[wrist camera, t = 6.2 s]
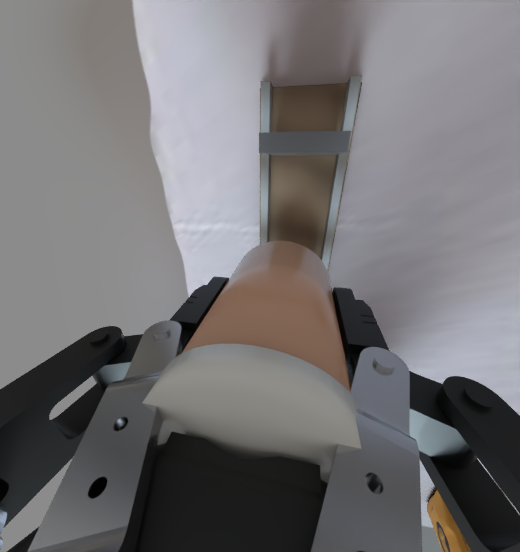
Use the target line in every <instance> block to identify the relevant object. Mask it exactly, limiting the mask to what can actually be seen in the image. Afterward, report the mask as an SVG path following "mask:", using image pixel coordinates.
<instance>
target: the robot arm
mask: <svg viewBox="0 0 520 552" xmlns="http://www.w3.org/2000/svg"><path fill="white" fill-rule="evenodd" d="M228 280H229V278H224V277H213V278H212V280H211V281H210V282H209V283H208V285H203V286H201V287H199V288H198V289H196V290H195V291H194V292H193V293H192V294H191V296H190V297H189V298H188V299H187V301H186V303H184V304H183V305H182V306H181V308H180V309H179V310H178V311H177V312H176V313H175V315H174V316H173V317H172V318H171V319H170V320H168V321H162V322H159V323H156V324H154V325H152V326H151V327H149V328H148V329H147V330H146V331H145V332H144V334H142V335H133V336H124V335H123V333H122V331H121V329H120V328H118V327H115V326H108V327H103V328H100V329H97V330H95V331H93V332H91V333H89V334H87V335H86V336H84V337H83V338H81V339H79V340H78V341H76V342H75V343H73V344H72V345H70V346H68V347H67V348H65V349H64V350H62V351H60V352H59V353H57V354H56V355H54V356H53V357H51V358H50V359H48V360H46V361H45V362H43V363H41V364H40V365H38V366H37V367H35V368H34V369H32V370H30V371H29V372H27V373H26V374H24V375H23V376H21V377H19V378H18V379H16V380H15V381H13V382H11V383H10V384H9V385H7V386H5V387H4V388H2V389H0V534H1V532H2V530H3V528H4V527H5V526H6V525H7V524H8V523H9V522H10V521H11V520H12V519H13V518H14V517H15V516H16V515H17V514H18V513H19V512H20V511H21V510H22V509H23V508H24V507H25V506H26V505H27V504H28V502H29V501H30V500H31V499H32V498H33V497H34V496H35V495H36V494H37V493H38V492H39V491H40V490H41V489H42V488H43V487H44V486H45V485H46V484H47V483H48V482H49V481H50V480H51V479H52V478H53V477H54V476H55V475H56V474H57V473H58V472H59V471H60V470H61V469H62V468H63V467H64V465H66V464H67V463H68V461H70V459H71V458H72V457H73V456H74V457H73V459H72V461H71V463H70V465H69V467H68V469H67V471H66V473H65V475H64V477H63V479H62V482H61V484H60V485H59V488H58V490H57V492H56V494H55V496H54V498H53V500H52V502H51V504H50V506H49V508H48V511H47V512H46V515H45V517H44V518H43V521H42V523H41V525H40V526H39V527H38V528H37V529H36V530H34V531H33V532H32V533H31V534H29V535H28V536H27V537H25V538H24V539H23V540H22V541H20V542H19V543H18V544H16V545H15V546H14V547H12V548H11V549H10V550H9V551H7V552H422V526H421V493H420V461H419V458H420V460H421V462H422V464H423V465H424V467H425V469H426V471H427V473H428V474H429V476H430V478H431V480H432V482H433V483H434V485H435V487H436V489H437V490H438V492H439V494H440V496H441V498H442V499H443V501H444V503H445V505H446V507H447V508H448V510H449V512H450V514H451V515H452V517H453V519H454V521H455V523H456V524H457V526H458V528H459V530H460V532H461V533H462V535H463V537H464V539H465V541H466V542H467V544H468V546H469V548H470V549H471V551H472V552H520V515H519V514H518V513H517V511H516V510H515V509H514V507H513V506H512V505H511V503H510V502H509V501H508V500H507V498H506V497H505V496H504V494H503V493H502V492H501V490H500V489H499V488H498V486H497V485H496V484H495V482H494V481H493V480H492V478H491V477H490V476H489V474H488V473H487V472H486V470H485V469H484V468H483V466H482V465H481V464H480V462H479V461H478V460H477V458H478V459H479V460H480V461H481V463H482V464H483V465H484V466H485V468H486V469H487V470H488V472H489V473H490V474H491V476H492V477H493V478H494V480H495V481H496V482H497V484H498V485H499V486H500V488H501V489H502V490H503V492H504V493H505V494H506V496H507V497H508V498H509V499H510V501H511V502H512V503H513V505H514V506H515V507H516V509H517V510H518V512H519V513H520V416H519V415H518V414H517V413H516V412H515V411H514V410H513V409H512V408H511V407H510V406H509V405H508V404H507V403H506V402H505V401H504V400H503V399H501V398H500V397H499V396H498V395H497V394H496V393H494V392H493V391H492V390H490V389H489V388H487V387H486V386H484V385H482V384H480V383H478V382H476V381H474V380H471V379H468V378H465V377H459V376H452V377H448V378H447V379H445V381H444V382H443V384H441V383H438V382H435V381H433V380H430V379H427V378H425V377H422V376H420V375H417V374H415V373H413V372H411V371H409V369H408V367H407V365H406V364H405V363H404V361H403V360H402V359H401V358H400V357H398V356H397V355H396V354H394V353H392V352H390V351H389V349H388V347H387V344H386V342H385V340H384V338H383V335H382V333H381V331H380V328H379V326H378V325H377V322H376V319H375V318H374V315H373V313H372V310H371V308H370V307H369V306H368V305H367V304H366V303H365V302H364V301H363V300H355V298H354V295H353V292H352V290H351V289H348V288H337V287H334V289H333V293H332V294H333V299H334V304H335V309H336V314H337V319H338V324H339V329H340V334H341V339H342V344H343V349H344V354H345V359H346V364H347V369H348V374H349V379H350V384H351V391H350V393H351V394H352V395H353V397H354V398H355V400H356V401H357V402H358V404H359V406H360V408H361V411H360V410H358V409H357V410H356V423H357V428H358V433H359V438H360V444H361V449H360V448H355V447H350V446H345V445H340V444H338V446H337V449H336V452H335V455H334V458H333V461H332V465H331V469H330V473H329V477H328V481H327V482H325V481H323V480H322V479H321V476H320V465H316V464H312V463H307V462H303V461H299V460H294V459H290V458H285V457H281V456H277V457H267V458H256V459H246V460H239V459H236V458H234V457H233V456H231V455H229V454H228V453H226V452H225V451H223V450H221V449H220V448H218V447H217V446H215V445H214V444H212V443H210V442H209V441H207V440H206V439H203V438H198V437H194V436H190V435H185V434H181V433H177V432H171V434H170V436H169V438H168V440H167V442H166V443H164V444H160V445H157V444H158V439H159V435H160V430H161V426H162V423H163V419H162V417H161V414H160V412H159V410H158V407H157V406H154V405H149V404H144V403H142V402H143V401H144V399H145V398H146V396H147V395H148V394H149V392H150V391H151V389H152V388H153V386H154V385H155V383H156V382H157V380H158V378H159V377H160V375H161V374H162V372H163V371H164V369H165V368H166V366H167V365H168V364H169V363H170V362H171V361H172V360H173V359H174V358H175V357H177V356H178V355H180V354H182V352H183V350H184V349H185V347H186V346H187V344H188V343H189V341H190V340H191V338H192V336H193V335H194V333H195V332H196V330H197V329H198V327H199V326H200V324H201V322H202V321H203V319H204V318H205V316H206V315H207V313H208V312H209V310H210V308H211V307H212V305H213V304H214V302H215V301H216V299H217V298H218V296H219V294H220V293H221V291H222V290H223V288H224V287H225V285H226V284H227V282H228ZM91 376H93V378H94V379H95V381H96V382H97V384H96V385H95V386H93V387H92V388H91V389H90V390H89V391H87V392H86V393H85V394H84V395H83V396H81V397H80V398H79V399H78V400H77V401H75V402H74V403H73V404H72V405H71V406H70V407H68V408H67V409H66V410H65V411H64V412H62V413H61V414H60V415H59V416H57V417H56V418H54V419H52V420H49V415H50V412H51V410H52V408H53V407H54V406H55V405H56V404H57V403H58V402H59V401H61V400H62V399H63V398H64V397H65V396H67V395H68V394H69V393H71V392H72V391H73V390H74V389H76V388H77V387H78V386H79V385H81V384H82V383H83V382H84V381H86V380H87V379H88V378H89V377H91ZM2 543H3V539H2V537H0V549H1V547H2Z"/></svg>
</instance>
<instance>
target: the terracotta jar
mask: <svg viewBox="0 0 520 552" xmlns="http://www.w3.org/2000/svg"><path fill="white" fill-rule="evenodd" d="M350 391H351V384H350V379H349V374H348V369H347V364H346V359H345V354H344V349H343V344H342V339H341V334H340V329H339V324H338V319H337V314H336V309H335V304H334V299H333V294H332V289H331V284H330V279H329V275H328V271H327V269H326V267H325V265H324V263H323V262H322V260H321V259H320V258H319V257H318V256H317V255H316V254H315V253H314V252H313V251H311V250H310V249H308V248H306V247H305V246H303V245H300V244H297V243H294V242H290V241H271V242H267V243H263V244H261V245H258V246H256V247H255V248H253V249H252V250H250V251H249V252H248V253H247V254H246V255H245V256H244V257H243V259H242V260H241V262H240V263H239V265H238V266H237V268H236V270H235V271H234V273H233V274H232V276H231V277H230V279H229V280H228V282H227V284H226V285H225V287H224V288H223V290H222V291H221V293H220V294H219V296H218V298H217V299H216V301H215V302H214V304H213V305H212V307H211V308H210V310H209V312H208V313H207V315H206V316H205V318H204V319H203V321H202V322H201V324H200V326H199V327H198V329H197V330H196V332H195V333H194V335H193V336H192V338H191V340H190V341H189V343H188V344H187V346H186V347H185V349H184V350H183V352H182V354H180V355H178V356H177V357H175V358H174V359H173V360H172V361H171V362H170V363H169V364H168V365H167V366H166V368H165V369H164V371H163V372H162V374H161V375H160V377H159V378H158V380H157V382H156V383H155V385H154V386H153V388H152V389H151V391H150V392H149V394H148V395H147V396H146V398H145V399H144V401H143V402H142V403H144V404H149V405H154V406H157V407H158V410H159V412H160V414H161V417H162V419H163V423H162V426H161V430H160V435H159V439H158V444H157V445H160V444H164V443H166V442H167V440H168V438H169V436H170V434H171V432H177V433H181V434H185V435H190V436H194V437H198V438H203V439H206V440H207V441H209V442H210V443H212V444H214V445H215V446H217V447H218V448H220V449H221V450H223V451H225V452H226V453H228V454H229V455H231V456H233V457H234V458H236V459H239V460H246V459H256V458H267V457H277V456H281V457H285V458H290V459H294V460H299V461H303V462H307V463H312V464H316V465H320V476H321V479H322V480H323V481H325V482H327V481H328V477H329V473H330V469H331V465H332V461H333V458H334V455H335V452H336V449H337V446H338V444H340V445H345V446H350V447H355V448H360V449H361V444H360V438H359V433H358V428H357V423H356V410H357V409H358V410H360V411H361V408H360V406H359V404H358V402H357V401H356V400H355V398H354V397H353V395H352V394H351V393H350Z"/></svg>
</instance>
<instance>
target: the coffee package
mask: <svg viewBox="0 0 520 552" xmlns="http://www.w3.org/2000/svg"><path fill="white" fill-rule="evenodd" d="M427 512H428V514H429V517H430V519H431V522H432V524H433V527H434V530H435V532H436V535H437V538H438V540H439V543H440V546H441V550H442V552H472V551H471V549H470V548H469V546H468V544H467V542H466V541H465V539H464V537H463V535H462V533H461V532H460V530H459V528H458V526H457V524H456V523H455V521H454V519H453V517H452V515H451V514H450V512H449V510H448V508H447V507H446V505H445V503H444V501H443V499H442V498H441V496H440V494H439V492H438V490H436V492H435V494H434V495H433V497H431V498H430V500H429V503H428V504H427Z"/></svg>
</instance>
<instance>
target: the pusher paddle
mask: <svg viewBox="0 0 520 552" xmlns="http://www.w3.org/2000/svg"><path fill="white" fill-rule="evenodd" d="M350 134H351V131H310V132H264V133H259V153H263V154H268V155H273V156H310V155H338V154H342V153H347V151H348V146H349V140H350Z"/></svg>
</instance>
